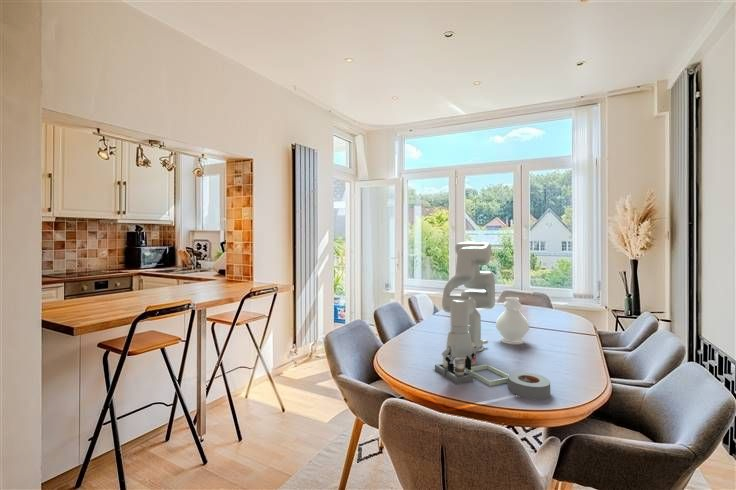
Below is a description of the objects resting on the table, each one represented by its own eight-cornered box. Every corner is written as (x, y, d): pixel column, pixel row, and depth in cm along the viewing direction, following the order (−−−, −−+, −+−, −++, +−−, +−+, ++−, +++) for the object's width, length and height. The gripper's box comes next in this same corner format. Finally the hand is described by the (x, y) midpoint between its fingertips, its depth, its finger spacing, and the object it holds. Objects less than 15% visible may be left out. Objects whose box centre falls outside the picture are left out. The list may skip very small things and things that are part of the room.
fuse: (448, 369, 162) (448, 351, 162) (453, 372, 159) (453, 354, 158) (440, 370, 161) (440, 352, 161) (445, 373, 157) (446, 355, 157)
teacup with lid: (468, 368, 166) (469, 342, 165) (452, 362, 173) (452, 338, 172) (483, 362, 173) (483, 338, 173) (467, 357, 180) (467, 334, 180)
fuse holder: (432, 371, 162) (432, 364, 162) (450, 368, 166) (450, 361, 166) (455, 386, 145) (455, 379, 145) (476, 382, 149) (476, 375, 149)
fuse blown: (460, 376, 154) (460, 357, 154) (466, 379, 150) (466, 360, 150) (452, 377, 152) (452, 359, 152) (458, 381, 149) (458, 362, 148)
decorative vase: (513, 335, 219) (513, 294, 218) (536, 343, 202) (536, 299, 201) (489, 338, 212) (489, 296, 212) (511, 347, 196) (511, 301, 195)
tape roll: (518, 380, 152) (518, 368, 152) (556, 391, 141) (556, 378, 141) (500, 391, 141) (500, 378, 141) (540, 404, 130) (540, 390, 130)
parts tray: (487, 369, 163) (487, 364, 163) (513, 383, 149) (513, 377, 149) (465, 373, 159) (465, 367, 159) (490, 387, 144) (490, 381, 144)
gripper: (471, 325, 157) (470, 364, 158) (436, 329, 151) (436, 370, 151) (482, 329, 150) (482, 370, 151) (447, 333, 144) (447, 376, 144)
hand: (459, 370), depth 151 cm, fingers open, 8 cm apart
